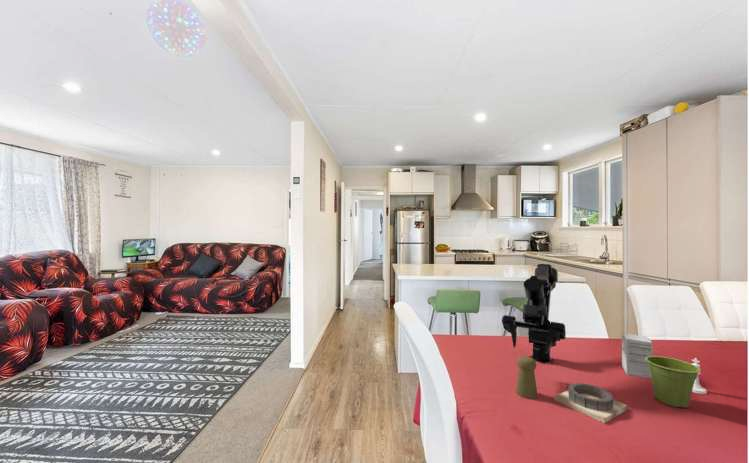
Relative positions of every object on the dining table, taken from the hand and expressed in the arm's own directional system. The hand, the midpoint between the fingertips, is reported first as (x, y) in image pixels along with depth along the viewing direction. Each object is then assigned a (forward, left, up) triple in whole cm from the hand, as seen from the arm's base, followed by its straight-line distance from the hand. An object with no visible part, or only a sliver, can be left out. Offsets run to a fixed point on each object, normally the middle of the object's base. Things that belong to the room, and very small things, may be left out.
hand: (529, 349), depth 102 cm
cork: (+5, +2, -12) cm, 13 cm away
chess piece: (-44, +27, -12) cm, 53 cm away
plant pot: (-28, +26, -12) cm, 40 cm away
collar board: (-5, +15, -12) cm, 20 cm away
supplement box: (-43, +12, -12) cm, 46 cm away
